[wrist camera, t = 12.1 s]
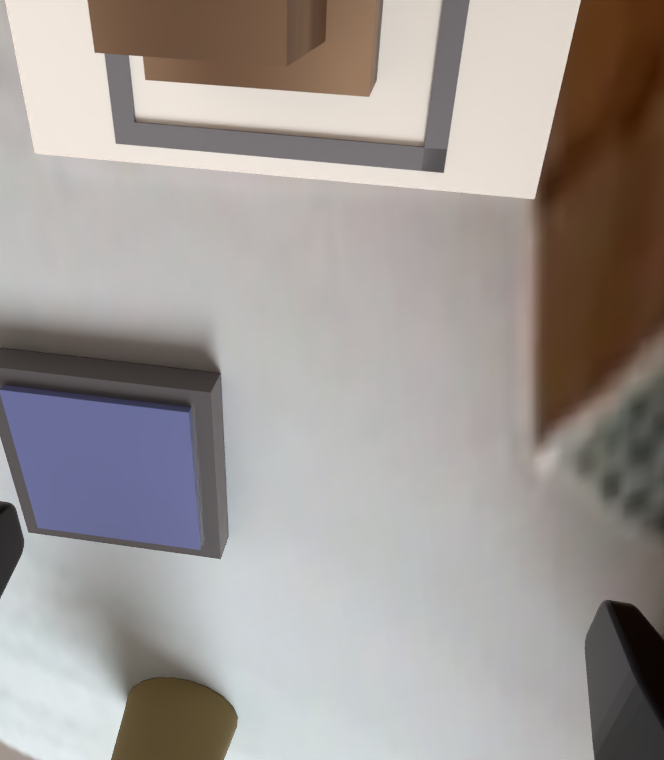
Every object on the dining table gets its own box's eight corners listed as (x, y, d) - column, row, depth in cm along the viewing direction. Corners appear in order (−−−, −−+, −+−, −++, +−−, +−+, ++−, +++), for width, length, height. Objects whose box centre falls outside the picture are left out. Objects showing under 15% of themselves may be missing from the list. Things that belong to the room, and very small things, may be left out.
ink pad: (220, 373, 22) (208, 397, 20) (228, 536, 26) (218, 564, 25) (-1, 347, 22) (-26, 370, 21) (43, 511, 27) (24, 537, 25)
